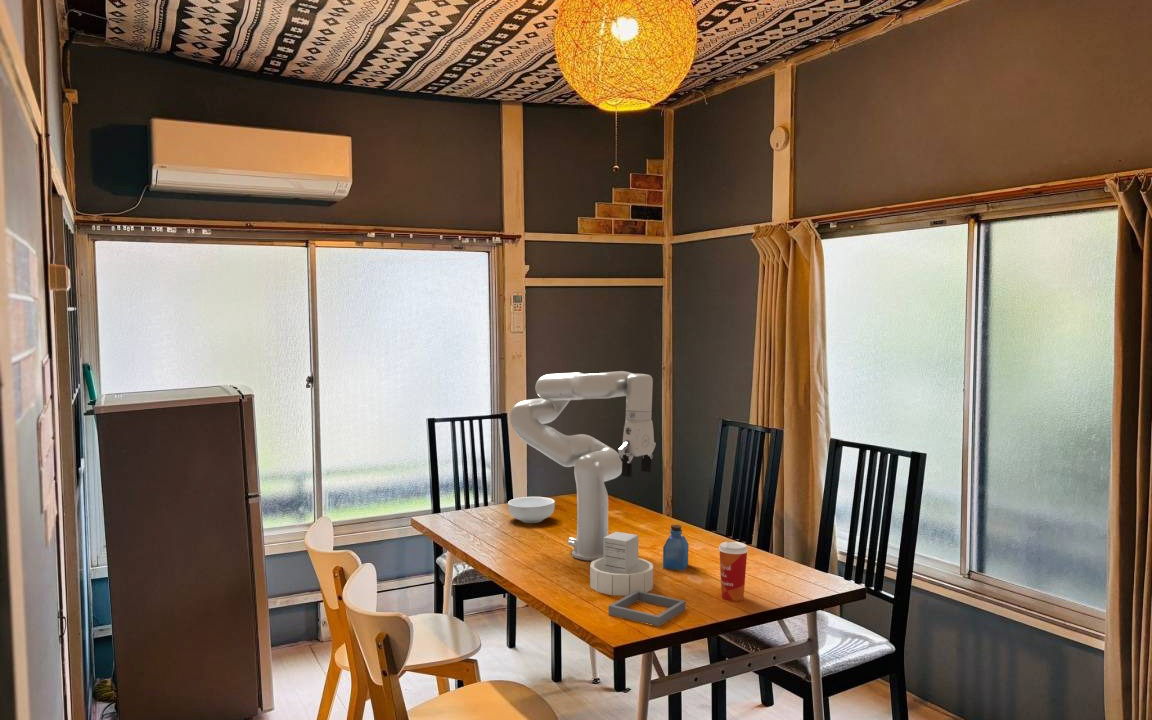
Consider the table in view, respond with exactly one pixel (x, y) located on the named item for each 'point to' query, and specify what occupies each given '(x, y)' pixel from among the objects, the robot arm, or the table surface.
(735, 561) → the paper cup
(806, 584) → the table surface
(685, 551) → the perfume bottle
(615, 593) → the bowl
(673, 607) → the gray square frame
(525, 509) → the cereal bowl
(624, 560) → the supplement box
